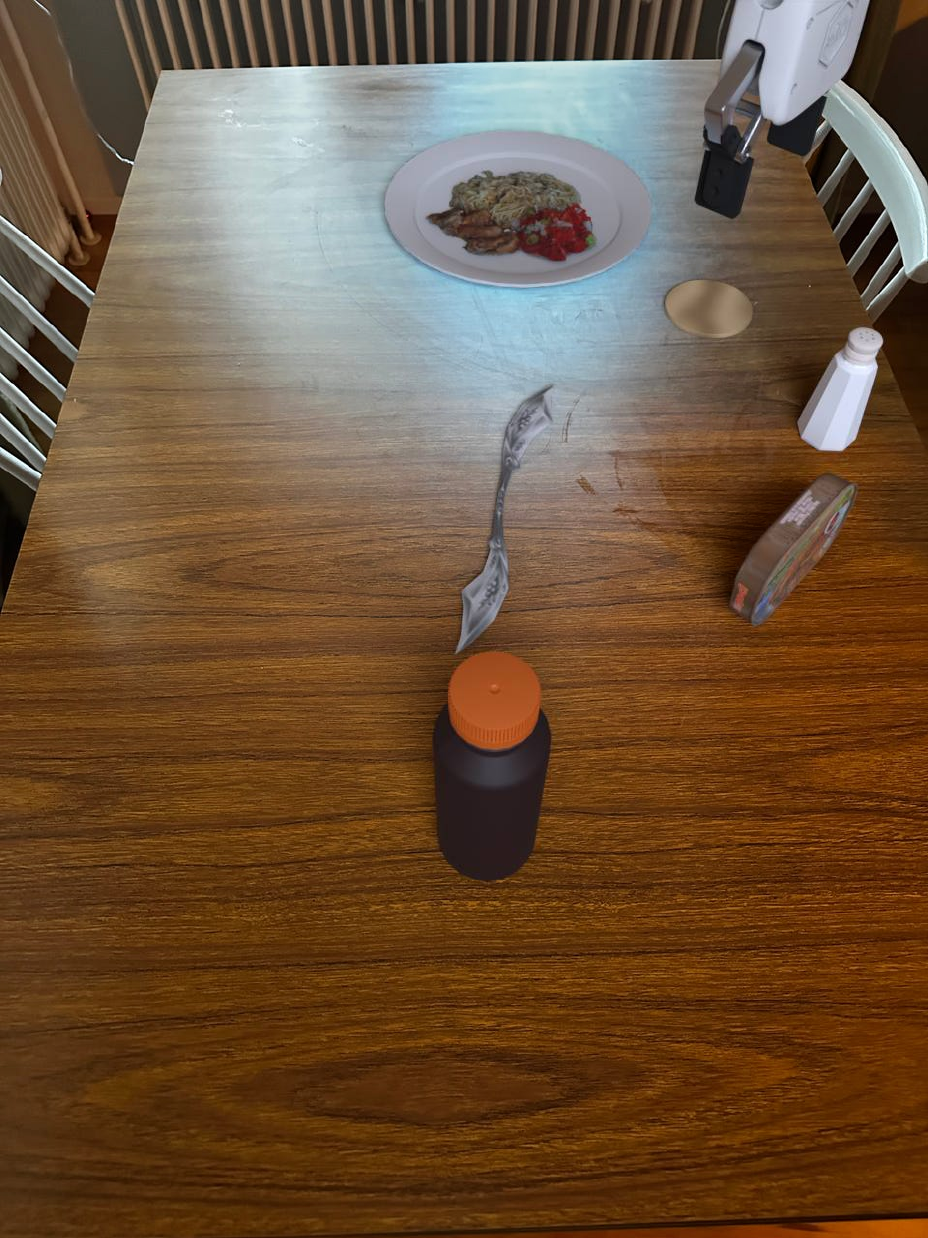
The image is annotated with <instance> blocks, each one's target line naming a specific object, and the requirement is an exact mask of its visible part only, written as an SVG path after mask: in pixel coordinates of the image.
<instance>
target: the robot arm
mask: <svg viewBox="0 0 928 1238" xmlns="http://www.w3.org/2000/svg"><path fill="white" fill-rule="evenodd" d="M869 4H870V0H735V3H734V6H733V9H732V10H733V11H732V14H731V17H730V21H729V25H728V30H727V32H726V33H727V34H726V39H725V43H724V45H723V46H724V47H723V50H722V55H721V60H720V66H719V70H718V71H719V72H718V77H717V84H716V86H715V87H714V89H713V90H712V92H711V94H710V95H709V96H708V98H707V100H706V102H705V104H704V109H703V114H704V115H703V116H704V124H703V126H702V127H703V128H702V130H703V131H702V138H703V143H702V149H703V150H704V153H703V157H702V162H701V167H700V171H699V176H698V179H697V185H696V189H695V193H694V194H695V195H694V202H695V204H696V205H697V206H700V207H701V208H704V209H707V210H709V211H711V212H713V213H716V214H718V215H720V216H723V217H725V218H728V219H730V220H734V219H736V218H737V217H738V216H739V215H740V214H741V213H742V210H743V209H742V208H743V204H744V201H745V198H746V193H747V189H748V186H749V182H750V178H751V174H752V170H753V167H754V162H755V158H754V157H752V156H750V155H751V152H752V151H753V149H754V147H755V145H756V143H757V141H758V139H759V137H760V135H761V133H762V131H763V129H764V127H765V125H766V123H767V121H770V124H769V128H768V132H767V135H766V141H767V143H768V144H769V145H771V146H774V147H777V148H779V149H782V150H784V151H787V152H790V153H792V154H795V155H797V156H800V157H805V156H807V155H809V153H810V152H811V151H812V148H813V145H814V141H815V138H816V135H817V132H818V129H819V125H820V122H821V119H822V115H823V113H824V109H825V106H826V103H827V99H828V96H826V95H827V94H828V93H829V91H830V90H831V88H832V89H833V86H835V85H836V84H838V82H840V80H841V79H843V78H844V76H845V75H846V74H847V72H848V71H849V69H850V67H851V65H852V63H853V59H854V57H855V54H856V50H857V46H858V42H859V40H860V37H861V32H862V30H863V26H864V22H865V19H866V15H867V11H868V8H869ZM746 93H748V94H751V95H753V96H757V97H759V104H758V103H756V102H753V101H749V100H747V99H745V98H743V97H744V95H745V94H746ZM735 113H736V114H739V115H741V116H743V117H746V118H749V119H750V121H749V123H748V125H747V127H746V129H745V131H744V133H743V134H741V133H740V130H739V128H738V126H737V125H734V124H733V121H734V120H735Z"/></svg>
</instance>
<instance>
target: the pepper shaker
mask: <svg viewBox="0 0 928 1238" xmlns="http://www.w3.org/2000/svg"><path fill="white" fill-rule="evenodd" d="M883 344H884V338H883V337H882V335H881V334H880V332H878V331H877V330H875V329H874V328H870V327H866V326H865V327H864V326H860V327H856V328H854V329H853V328H852V330H851V331H849V333H848V337H847V341H846V343H845V345H844V347H843V348H842V349H841V350H839V351H838V352H836V353H835V354H834V355H833V357H832V359H831V361H829V364H828V366H827V367H826V370H825V372H824V373H823V374H822V377H821V379H820V380H819V382H818V384H817V386H816V387H815V389H814V391H813V392H812V394H811V396H810V398H809V400H808V402H807V404H806V406H804V409H803V411H802V413H801V414H800V417H799V418H798V420H797V428H798V432H799V436H800V439H801V440H802V441H803V442H805V443H807V444H808V445H810V446H812V447H813V448H814V449H816V450H818V451H825V452H826V451H827V452H828V451H829V452H843V451H844V450H845V449H846V448H847V447H849V446H850V445H851V444H852V443H853V442H854V441H855V440H856V439H857V435H858V433H859V430H860V426H861V423H862V420H863V417H864V413H865V411H866V407H867V404H868V401H869V397H870V395H871V392H872V388H873V385H874V382H875V379H876V375H877V372H878V368H879V365H878V363H877V360H876V357H877V355H878V353H879V350H880V349H881V347H882V345H883Z"/></svg>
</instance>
